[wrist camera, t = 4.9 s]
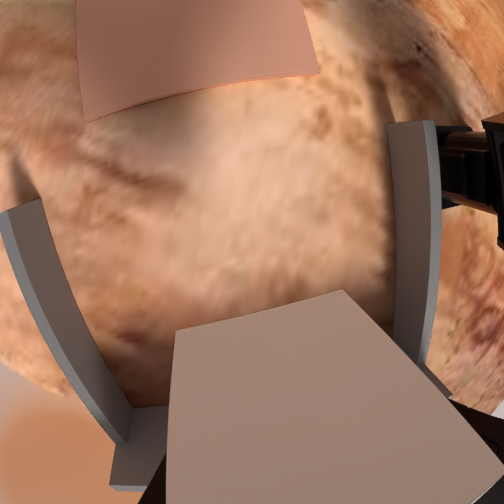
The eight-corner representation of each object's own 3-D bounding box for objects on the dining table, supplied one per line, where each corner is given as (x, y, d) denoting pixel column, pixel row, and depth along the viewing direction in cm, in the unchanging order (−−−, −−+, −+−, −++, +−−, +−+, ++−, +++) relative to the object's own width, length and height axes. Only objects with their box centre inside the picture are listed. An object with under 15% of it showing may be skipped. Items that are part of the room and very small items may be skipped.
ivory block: (341, 288, 9) (507, 470, 2) (343, 397, 10) (424, 539, 4) (175, 330, 8) (171, 591, 1) (219, 431, 10) (247, 596, 3)
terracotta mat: (273, -64, 11) (275, -69, 10) (316, 75, 15) (319, 72, 15) (80, -29, 10) (77, -33, 9) (88, 121, 14) (84, 120, 14)
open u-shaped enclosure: (396, 123, 17) (484, 119, 10) (399, 348, 23) (449, 402, 16) (30, 202, 15) (-50, 235, 7) (127, 416, 21) (116, 490, 14)
